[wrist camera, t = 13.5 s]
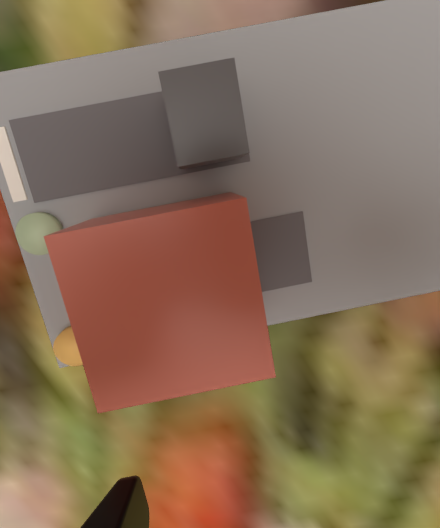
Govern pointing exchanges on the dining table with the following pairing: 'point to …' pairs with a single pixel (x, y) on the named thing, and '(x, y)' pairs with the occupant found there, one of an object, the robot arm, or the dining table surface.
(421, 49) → the breaker panel
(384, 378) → the dining table surface
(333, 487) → the dining table surface
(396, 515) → the dining table surface
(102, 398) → the cap
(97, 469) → the dining table surface
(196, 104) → the block
